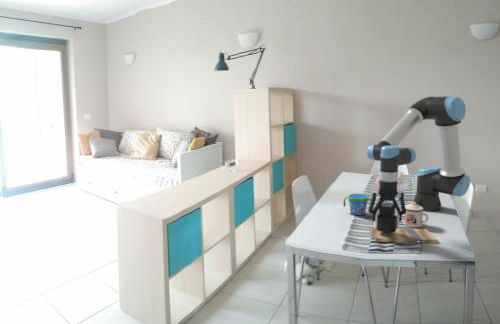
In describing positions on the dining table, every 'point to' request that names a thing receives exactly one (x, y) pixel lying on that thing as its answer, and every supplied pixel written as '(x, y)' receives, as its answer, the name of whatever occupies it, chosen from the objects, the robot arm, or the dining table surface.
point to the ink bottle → (386, 218)
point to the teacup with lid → (414, 215)
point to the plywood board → (404, 236)
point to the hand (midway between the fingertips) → (386, 227)
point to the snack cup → (357, 203)
